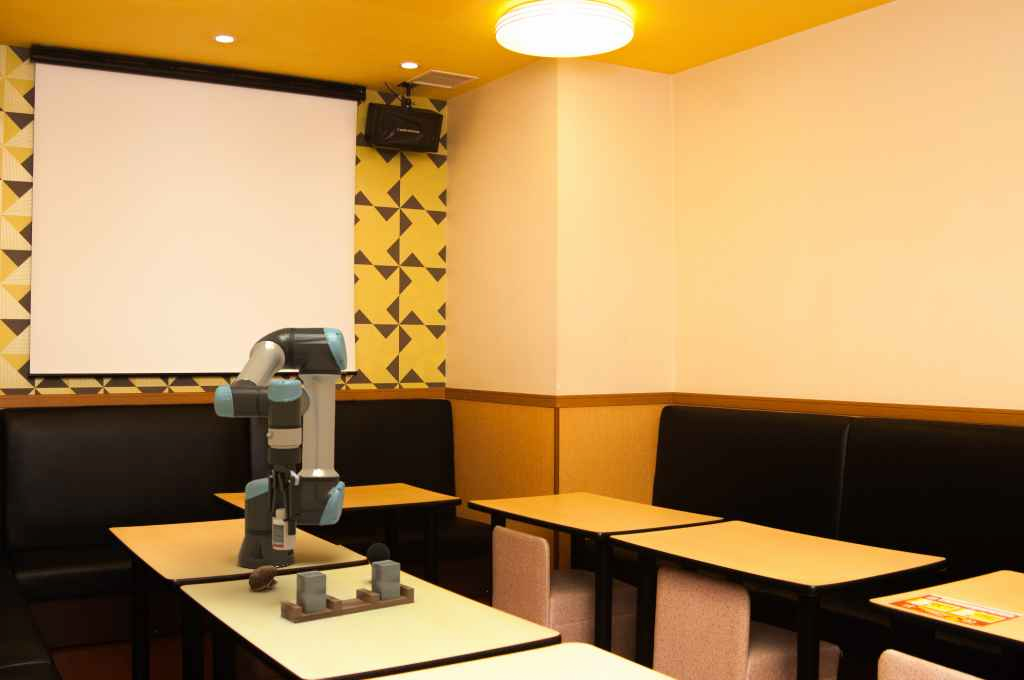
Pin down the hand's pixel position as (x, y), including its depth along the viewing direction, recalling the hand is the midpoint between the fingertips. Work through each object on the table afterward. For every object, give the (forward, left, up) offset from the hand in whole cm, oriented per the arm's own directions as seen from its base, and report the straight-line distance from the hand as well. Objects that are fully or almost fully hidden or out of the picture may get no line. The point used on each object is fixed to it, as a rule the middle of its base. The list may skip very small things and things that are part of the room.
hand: (284, 546), depth 233 cm
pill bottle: (0, 0, -1) cm, 1 cm away
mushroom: (-16, +2, -13) cm, 21 cm away
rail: (+13, +10, -13) cm, 21 cm away
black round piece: (-5, +28, -13) cm, 31 cm away
